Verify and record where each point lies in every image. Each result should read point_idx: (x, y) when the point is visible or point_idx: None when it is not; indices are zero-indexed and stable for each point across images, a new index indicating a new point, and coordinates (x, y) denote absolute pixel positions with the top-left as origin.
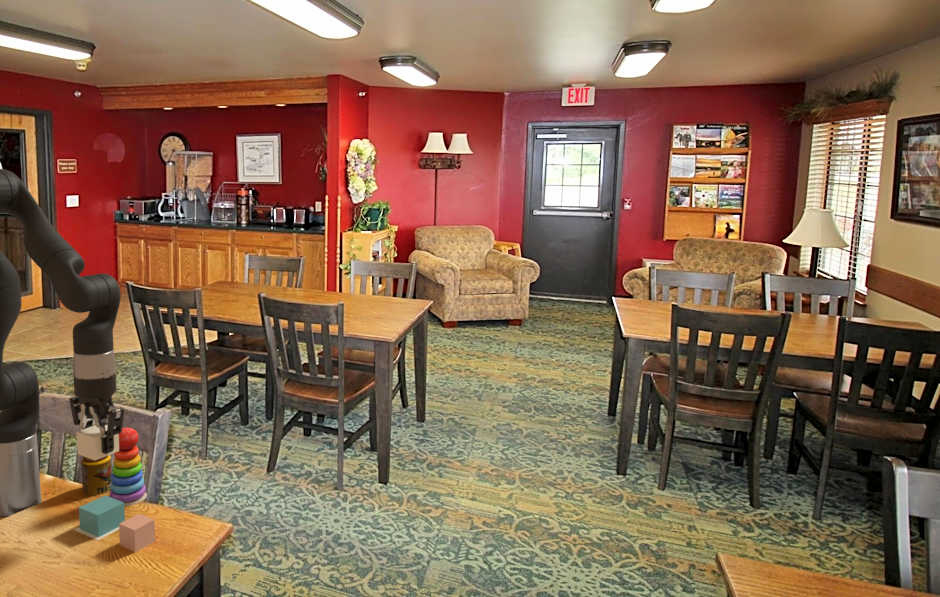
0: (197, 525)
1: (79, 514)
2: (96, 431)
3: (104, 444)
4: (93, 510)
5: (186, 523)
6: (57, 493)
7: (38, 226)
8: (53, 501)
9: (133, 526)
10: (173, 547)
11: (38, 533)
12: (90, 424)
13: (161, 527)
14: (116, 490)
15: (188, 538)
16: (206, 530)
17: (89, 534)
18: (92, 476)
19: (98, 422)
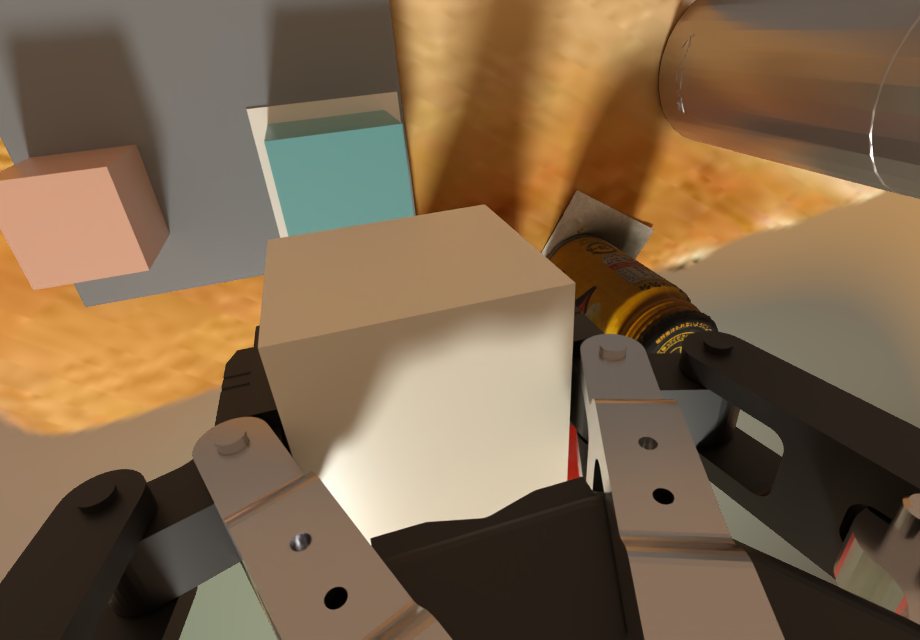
0: (137, 395)
1: (393, 118)
2: (416, 419)
3: (254, 377)
4: (325, 151)
5: (179, 377)
6: (679, 193)
7: None
8: (649, 160)
9: (23, 198)
10: (27, 282)
11: (506, 10)
12: (585, 430)
13: (213, 313)
14: None
15: (61, 342)
16: (77, 402)
17: (315, 111)
18: (597, 282)
19: (250, 555)
